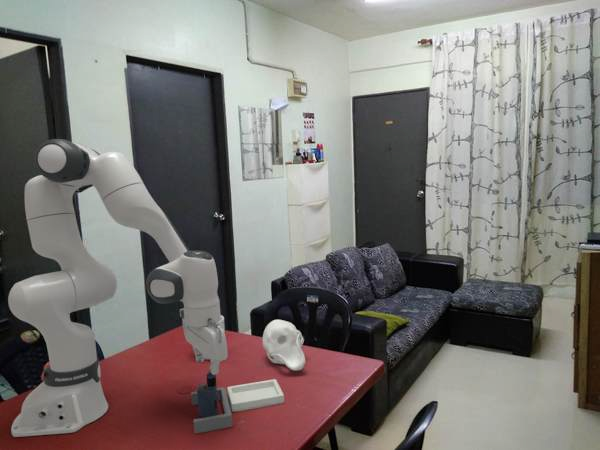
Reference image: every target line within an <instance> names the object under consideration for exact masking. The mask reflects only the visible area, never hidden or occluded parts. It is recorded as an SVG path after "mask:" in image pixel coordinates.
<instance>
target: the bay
mask: <svg viewBox="0 0 600 450" xmlns="http://www.w3.org/2000/svg"><path fill="white" fill-rule="evenodd" d="M190 398H191V405H192V406H193V405H198V396H197V391H191V392H190ZM218 401H221V403H222V408H223V412H224V413H223V414H217V415H216V416H211V417H201V418H193V431H194V435H197V434H200V433H206V432H211V431H217V430H221V429H227V428H232V427H233V415H232V409H231V405H230V401H229V397H228V393H227V390H226V387H225V386H222V387H217V402H218Z"/></svg>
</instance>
